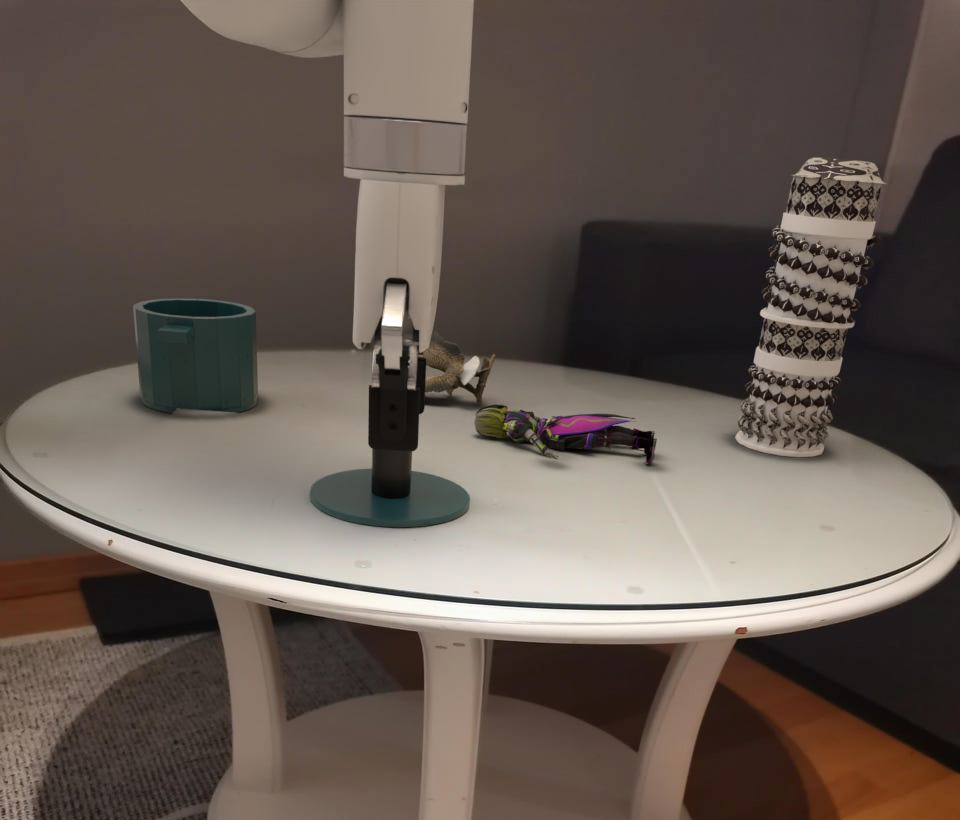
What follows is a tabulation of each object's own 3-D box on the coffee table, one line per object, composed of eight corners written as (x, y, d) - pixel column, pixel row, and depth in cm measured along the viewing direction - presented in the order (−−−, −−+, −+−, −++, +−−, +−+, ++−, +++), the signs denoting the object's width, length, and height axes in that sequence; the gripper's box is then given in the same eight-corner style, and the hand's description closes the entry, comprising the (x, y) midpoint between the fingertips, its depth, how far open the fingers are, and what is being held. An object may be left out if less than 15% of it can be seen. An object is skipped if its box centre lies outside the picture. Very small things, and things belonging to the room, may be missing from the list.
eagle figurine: (489, 382, 104) (409, 358, 104) (501, 332, 98) (415, 306, 98) (473, 434, 101) (389, 409, 100) (484, 386, 94) (395, 359, 94)
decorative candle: (751, 426, 101) (806, 157, 89) (840, 446, 96) (910, 165, 85) (716, 442, 94) (771, 153, 82) (809, 464, 89) (881, 162, 78)
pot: (116, 417, 85) (107, 317, 81) (167, 378, 99) (161, 291, 96) (238, 427, 86) (234, 327, 82) (271, 386, 100) (269, 299, 96)
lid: (298, 529, 65) (297, 430, 62) (321, 477, 75) (322, 390, 72) (468, 541, 65) (476, 443, 62) (468, 487, 76) (475, 401, 73)
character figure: (646, 449, 91) (477, 425, 91) (654, 409, 89) (481, 385, 90) (653, 479, 83) (467, 452, 83) (662, 436, 81) (472, 409, 81)
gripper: (358, 150, 67) (357, 397, 75) (325, 151, 52) (327, 462, 60) (466, 158, 68) (453, 403, 75) (465, 161, 52) (449, 469, 60)
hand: (398, 429), depth 68 cm, fingers open, 9 cm apart
